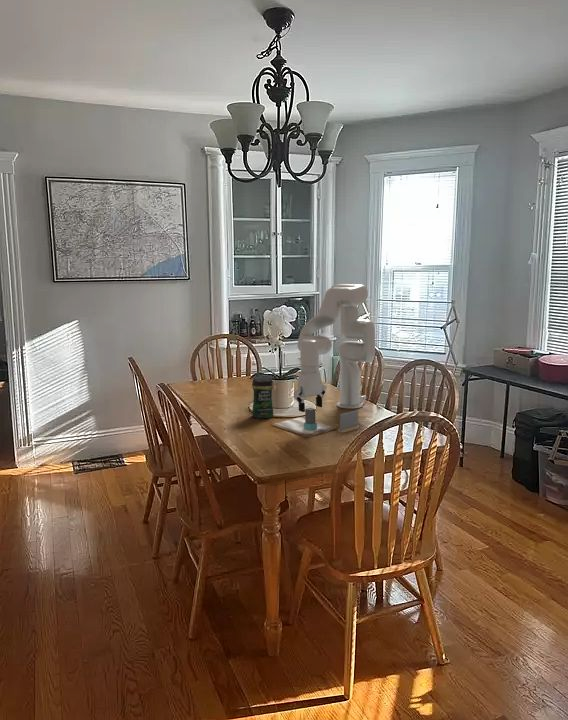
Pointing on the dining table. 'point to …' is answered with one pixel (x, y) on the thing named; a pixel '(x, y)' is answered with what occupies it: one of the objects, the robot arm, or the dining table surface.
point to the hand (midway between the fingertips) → (310, 409)
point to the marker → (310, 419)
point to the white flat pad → (298, 427)
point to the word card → (348, 421)
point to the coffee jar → (262, 397)
